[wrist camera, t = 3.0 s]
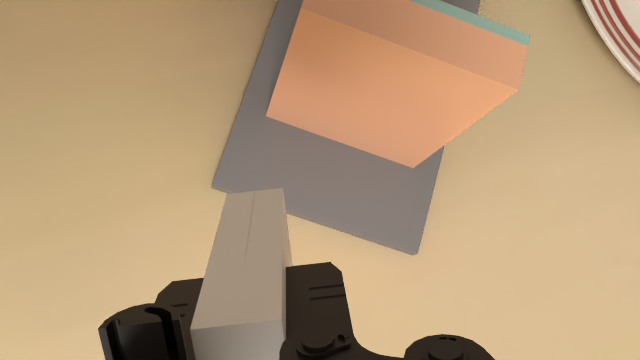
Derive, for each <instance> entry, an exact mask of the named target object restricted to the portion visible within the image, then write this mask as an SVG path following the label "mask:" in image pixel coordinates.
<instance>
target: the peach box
mask: <svg viewBox="0 0 640 360" xmlns="http://www.w3.org/2000/svg"><path fill="white" fill-rule="evenodd" d="M529 39H530V35H528V34H525V33H523V32H520V31H518V30H515V29H512V28H510V27H507V26H505V25H502V24H500V23H497V22H494V21H492V20H489V19H487V18H484V17H482V16H479V15H476V14H474V13H471V12H469V11H466V10H464V9H461V8H458V7H456V6H453V5H451V4H448V3H446V2H443V1H440V0H303V3H302V6H301V9H300V12H299V15H298V18H297V21H296V24H295V27H294V30H293V33H292V37H291V40H290V43H289V46H288V49H287V52H286V55H285V58H284V61H283V64H282V67H281V70H280V74H279V77H278V80H277V83H276V86H275V89H274V92H273V95H272V98H271V101H270V104H269V107H268V110H267V114H266V116H267V117H269V118H272V119H275V120H278V121H281V122H284V123H286V124H289V125H292V126H295V127H298V128H301V129H303V130H306V131H309V132H312V133H315V134H318V135H320V136H323V137H326V138H329V139H332V140H335V141H337V142H340V143H343V144H346V145H349V146H352V147H354V148H357V149H360V150H363V151H366V152H369V153H371V154H374V155H377V156H380V157H383V158H386V159H388V160H391V161H394V162H397V163H400V164H403V165H405V166H408V167H411V168H414V167H416V166H417V165H418V164H420V163H421V162H422V161H424V160H425V159H426V158H428V157H429V156H430V155H432V154H433V153H434V152H436V151H437V150H438V149H440V148H441V147H443V146H444V145H445V144H447V143H448V142H449V141H451V140H452V139H453V138H455V137H456V136H457V135H459V134H460V133H461V132H463V131H464V130H465V129H467V128H468V127H469V126H471V125H472V124H473V123H475V122H476V121H477V120H479V119H480V118H481V117H483V116H484V115H485V114H487V113H488V112H490V111H491V110H492V109H494V108H495V107H496V106H498V105H499V104H500V103H502V102H503V101H504V100H506V99H507V98H508V97H510V96H511V95H512V94H514V93H515V92H516V91H518V90H519V86H520V81H521V76H522V72H523V67H524V62H525V58H526V53H527V48H528V44H529Z"/></svg>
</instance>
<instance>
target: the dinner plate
mask: <svg viewBox="0 0 640 360" xmlns="http://www.w3.org/2000/svg"><path fill="white" fill-rule="evenodd" d="M581 1H582V3H583V5H584V8H585V10H586V12H587V14H588V16H589V18H590V19H591V21H592V23H593V25H594V27H595V28H596V30H597V31H598V33H599V34H600V36H601V38H602V39H603V41H604V42H605V44H606V45H607V46H608V48H609V49H610V51H611V52H612V53H613V55H614V56H615V57H616V58H617V60H618V61H619V62H620V64H621V65H622V66H623V67H624V68H625V69H626V70H627V71H628V73H629V74H630V75H631V76H632V77H633V78H635V80H636V81H637V82H638V83H639V84H640V0H581Z"/></svg>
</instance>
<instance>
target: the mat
mask: <svg viewBox="0 0 640 360" xmlns="http://www.w3.org/2000/svg"><path fill="white" fill-rule="evenodd" d="M440 1H443V2H446V3H448V4H451V5H453V6H456V7H458V8H461V9H464V10H466V11H469V12H471V13H474V14H476V15H477V12H478V8H479V4H480V0H440ZM302 3H303V0H278V3H277V6H276V9H275V11H274V14H273V17H272V20H271V22H270V25H269V28H268V31H267V34H266V36H265V39H264V42H263V45H262V47H261V50H260V53H259V56H258V58H257V61H256V64H255V67H254V69H253V72H252V75H251V78H250V80H249V83H248V86H247V89H246V92H245V94H244V97H243V100H242V103H241V105H240V108H239V111H238V114H237V116H236V119H235V122H234V125H233V127H232V130H231V133H230V136H229V139H228V141H227V144H226V147H225V150H224V152H223V155H222V158H221V161H220V163H219V166H218V169H217V172H216V174H215V177H214V180H213V183H212V188H213V189H216V190H219V191H222V192H225V193H228V194H232V193H241V192H250V191H259V190H268V189H277V188H283V192H284V200H285V208H286V213H288V214H291V215H294V216H297V217H300V218H303V219H306V220H309V221H312V222H315V223H318V224H321V225H324V226H327V227H330V228H333V229H336V230H339V231H342V232H345V233H348V234H351V235H354V236H356V237H359V238H362V239H365V240H368V241H371V242H374V243H377V244H380V245H383V246H386V247H389V248H392V249H395V250H398V251H401V252H404V253H407V254H410V255H415V254H418V250H419V246H420V242H421V238H422V234H423V230H424V226H425V222H426V218H427V214H428V210H429V206H430V202H431V198H432V194H433V190H434V186H435V182H436V178H437V174H438V170H439V166H440V161H441V157H442V153H443V149H444V146H443V147H441V148H440V149H438V150H437V151H436V152H434V153H433V154H432V155H430V156H429V157H428V158H426V159H425V160H424V161H422V162H421V163H420V164H418V165H417V166H416V167H414V168H411V167H408V166H405V165H403V164H400V163H397V162H394V161H391V160H388V159H386V158H383V157H380V156H377V155H374V154H371V153H369V152H366V151H363V150H360V149H357V148H354V147H352V146H349V145H346V144H343V143H340V142H337V141H335V140H332V139H329V138H326V137H323V136H320V135H318V134H315V133H312V132H309V131H306V130H303V129H301V128H298V127H295V126H292V125H289V124H286V123H284V122H281V121H278V120H275V119H272V118H269V117H267V116H266V114H267V110H268V107H269V104H270V101H271V98H272V95H273V92H274V89H275V86H276V83H277V80H278V77H279V74H280V70H281V67H282V64H283V61H284V58H285V55H286V52H287V49H288V46H289V43H290V40H291V37H292V33H293V30H294V27H295V24H296V21H297V18H298V15H299V12H300V9H301V6H302Z"/></svg>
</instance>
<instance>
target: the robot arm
mask: <svg viewBox="0 0 640 360" xmlns="http://www.w3.org/2000/svg"><path fill="white" fill-rule="evenodd" d="M98 331H99V335H100V339H101V343H102V347H103V351H104V355H105V359H106V360H495V359H494V358H493V357H492V356H491V355H490V354H489V353H488V352H487V351H486V350H485V349H484V348H483V347H481V346H480V345H478V344H477V343H475V342H474V341H472V340H470V339H467V338H464V337H460V336H456V335H444V334H441V335H433V336H427V337H424V338H422V339H420V340H417V341H415V342H413V343H412V344H411V345H410V346H409V347H408V348H407V349H406V352H405V355H404V358H399V357H390V356H384V355H379V354H376V353H373V352H371V351H369V350H367V349H365V348H364V347H362V346H361V345H360V344H359V343H358V342H357V340H356V338H355V337H354V334H353V329H352V324H351V319H350V314H349V308H348V303H347V298H346V293H345V288H344V282H343V277H342V272H341V271H340V270H339V269H338V268H337V267H335V266H334V265H333V264H332V263H331V262H326V263H317V264H308V265H299V266H293V265H292V257H291V249H290V241H289V233H288V225H287V216H286V208H285V200H284V192H283V188H277V189H268V190H259V191H250V192H241V193H232V194H227V196H226V199H225V203H224V207H223V210H222V214H221V218H220V221H219V225H218V229H217V232H216V236H215V240H214V243H213V247H212V251H211V254H210V258H209V262H208V265H207V269H206V273H205V276H204V278H198V279H189V280H180V281H172V282H171V283H170V284H169V285H168V286H167V287H166V288H164V289H163V290H162V291H161V292H160V293H159V294H158V296H157V298H156V301H155V303H147V304H143V305H138V306H133V307H130V308H127V309H125V310H122V311H120V312H117V313H116V314H114V315H113V316H111V317H110V318H108V319H106V320H105V321H104V322H103V324H102V325H101V326H100V327H99V328H98Z"/></svg>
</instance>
